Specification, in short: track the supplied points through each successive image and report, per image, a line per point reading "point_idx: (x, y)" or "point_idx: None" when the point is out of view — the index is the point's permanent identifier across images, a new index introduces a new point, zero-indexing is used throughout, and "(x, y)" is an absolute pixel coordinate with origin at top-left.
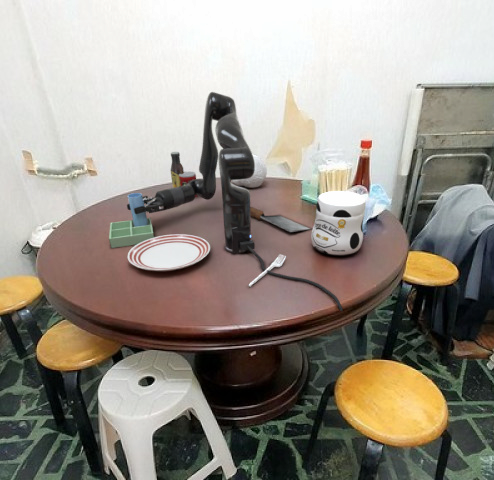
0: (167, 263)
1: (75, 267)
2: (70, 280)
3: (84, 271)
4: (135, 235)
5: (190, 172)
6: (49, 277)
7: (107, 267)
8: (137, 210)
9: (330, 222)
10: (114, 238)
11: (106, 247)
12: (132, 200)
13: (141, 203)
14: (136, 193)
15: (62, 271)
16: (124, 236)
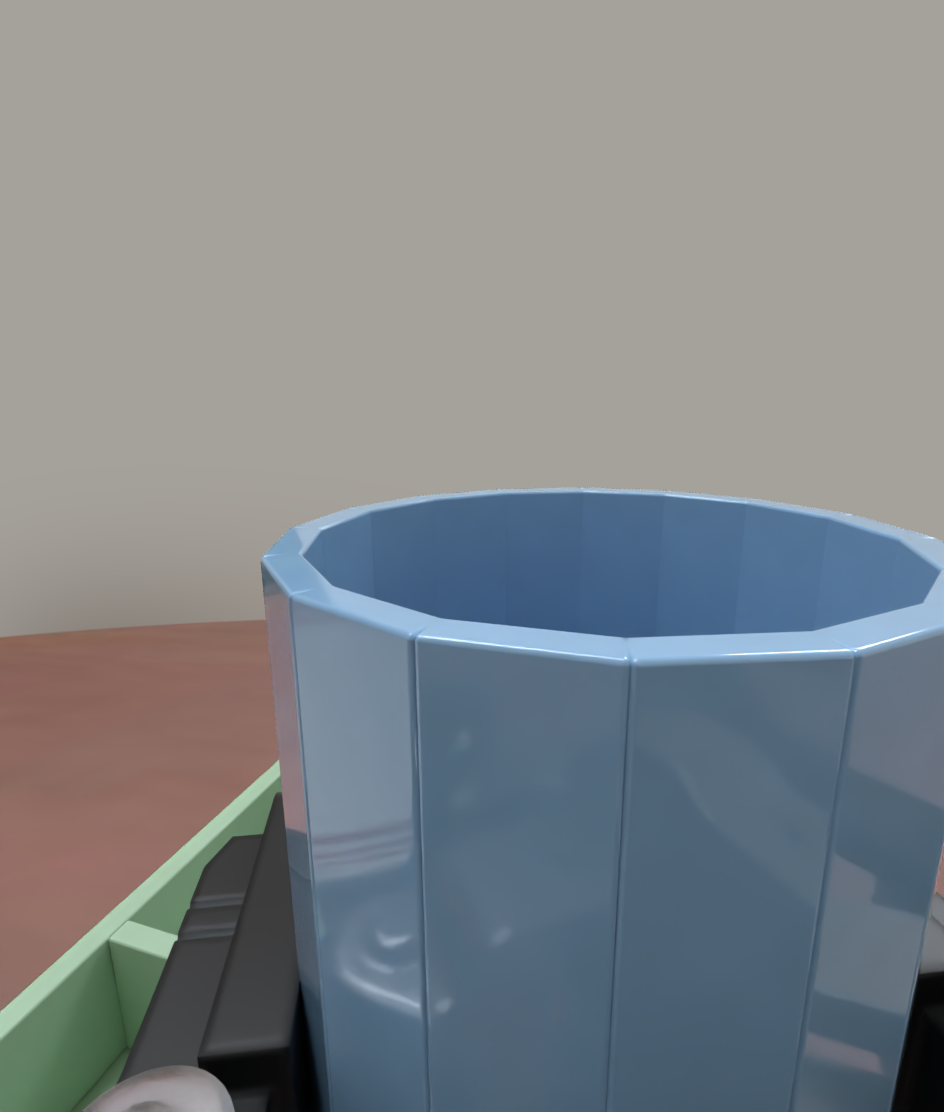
0: None
1: (238, 674)
2: (130, 652)
3: (142, 689)
4: (42, 978)
5: None
6: (255, 623)
7: (22, 759)
8: (225, 867)
9: None
10: (256, 785)
11: None
12: (399, 597)
13: (306, 924)
14: (935, 597)
15: (258, 646)
16: (179, 855)
